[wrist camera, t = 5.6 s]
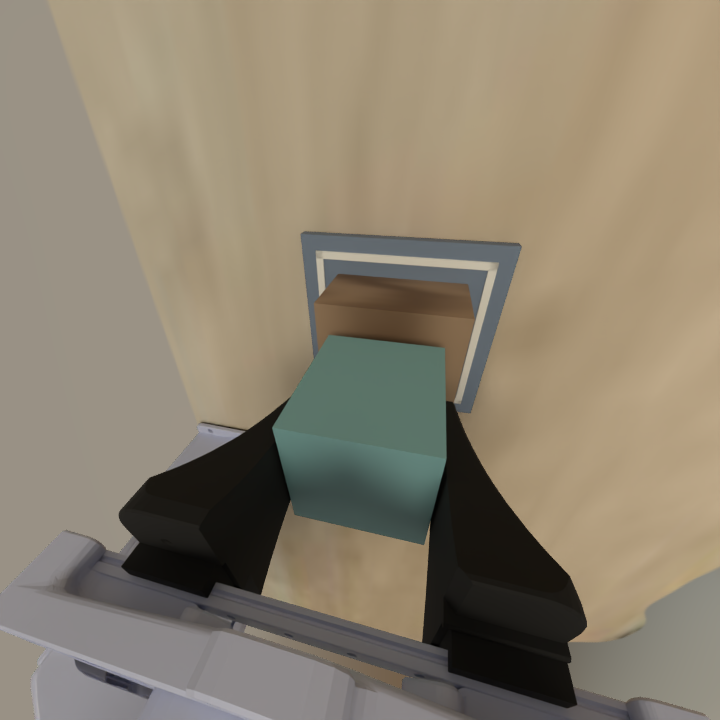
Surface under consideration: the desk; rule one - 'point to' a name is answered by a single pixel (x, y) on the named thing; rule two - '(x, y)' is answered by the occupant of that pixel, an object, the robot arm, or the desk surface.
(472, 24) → the desk surface
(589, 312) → the desk surface
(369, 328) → the walnut base block
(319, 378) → the teal block
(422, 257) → the mat
